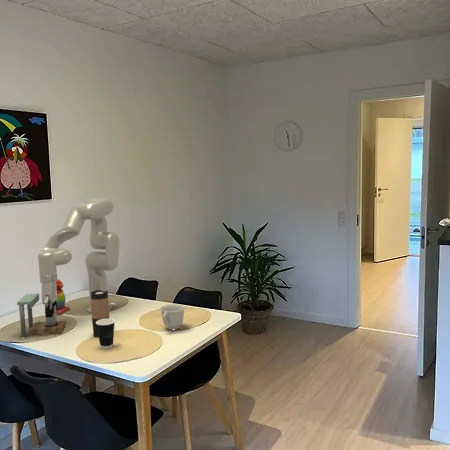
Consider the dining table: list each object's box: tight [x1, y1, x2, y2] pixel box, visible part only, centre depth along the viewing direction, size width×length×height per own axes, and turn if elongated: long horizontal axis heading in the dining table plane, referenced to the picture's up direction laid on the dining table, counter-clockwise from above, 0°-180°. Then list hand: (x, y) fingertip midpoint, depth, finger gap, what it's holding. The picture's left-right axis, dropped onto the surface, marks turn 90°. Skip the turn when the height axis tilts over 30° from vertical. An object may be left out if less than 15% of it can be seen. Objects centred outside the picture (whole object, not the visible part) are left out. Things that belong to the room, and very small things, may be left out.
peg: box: [45, 305, 58, 327], centre depth 220 cm, size 4×4×12 cm
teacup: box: [159, 303, 186, 330], centre depth 218 cm, size 12×15×10 cm
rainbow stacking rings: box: [49, 278, 71, 316], centre depth 249 cm, size 11×10×18 cm
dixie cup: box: [96, 318, 116, 349], centre depth 199 cm, size 8×8×11 cm
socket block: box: [28, 320, 67, 337], centre depth 220 cm, size 14×10×3 cm
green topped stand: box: [16, 293, 40, 338], centre depth 218 cm, size 6×14×17 cm, turn 8°
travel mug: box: [91, 290, 110, 338], centre depth 212 cm, size 8×8×20 cm
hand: (51, 313), depth 220 cm, fingers open, 9 cm apart
